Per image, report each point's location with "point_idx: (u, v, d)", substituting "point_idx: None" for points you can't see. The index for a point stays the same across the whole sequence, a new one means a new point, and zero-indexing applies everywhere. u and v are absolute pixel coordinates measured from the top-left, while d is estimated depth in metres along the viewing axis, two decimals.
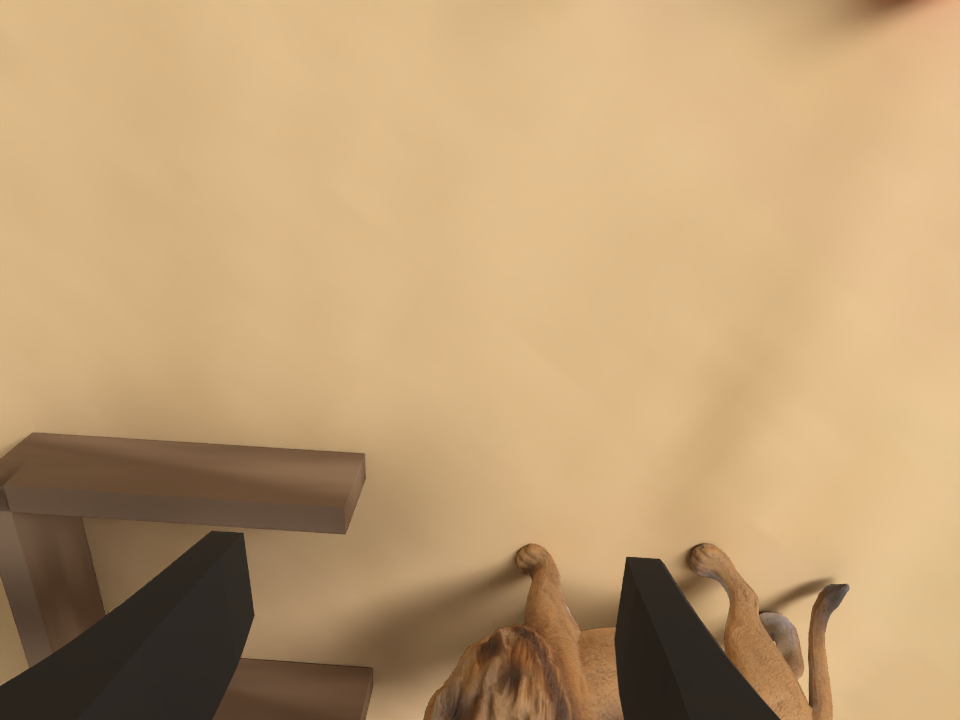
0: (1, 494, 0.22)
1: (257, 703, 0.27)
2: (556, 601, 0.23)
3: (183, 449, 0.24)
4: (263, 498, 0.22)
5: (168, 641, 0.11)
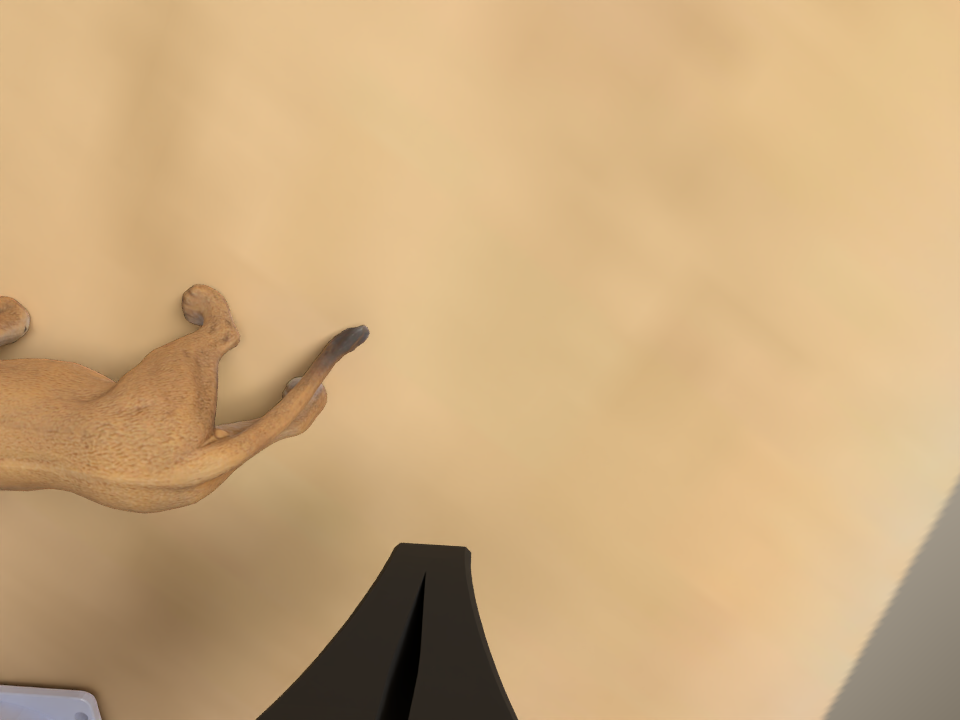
0: None
1: None
2: None
3: None
4: None
5: (401, 656, 0.11)
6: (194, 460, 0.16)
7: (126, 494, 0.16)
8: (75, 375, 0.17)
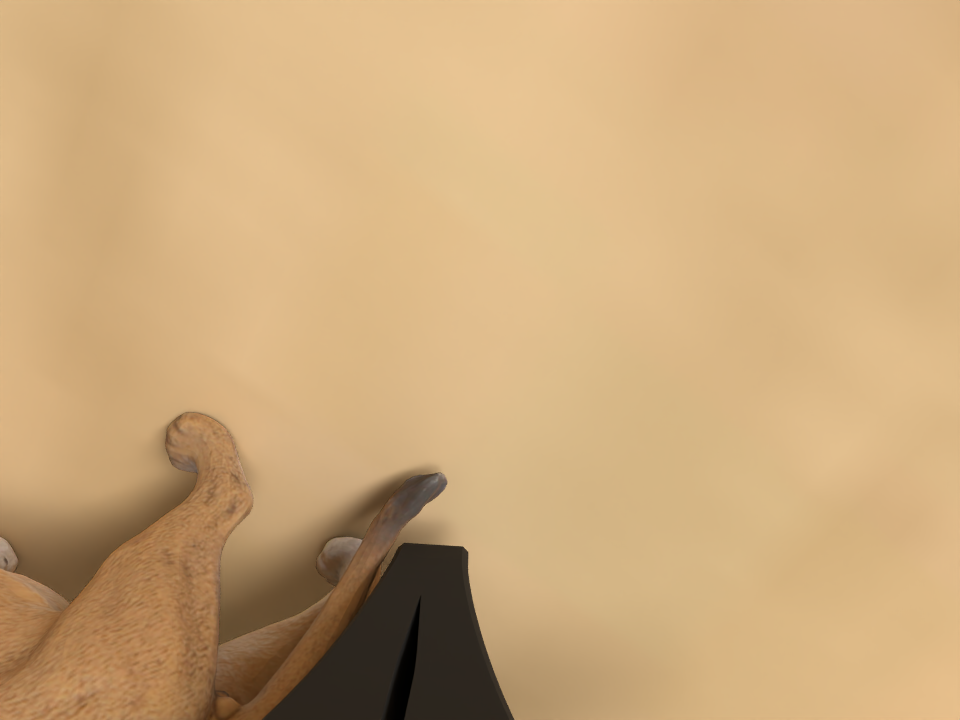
0: None
1: None
2: None
3: None
4: None
5: (405, 657, 0.11)
6: None
7: None
8: None
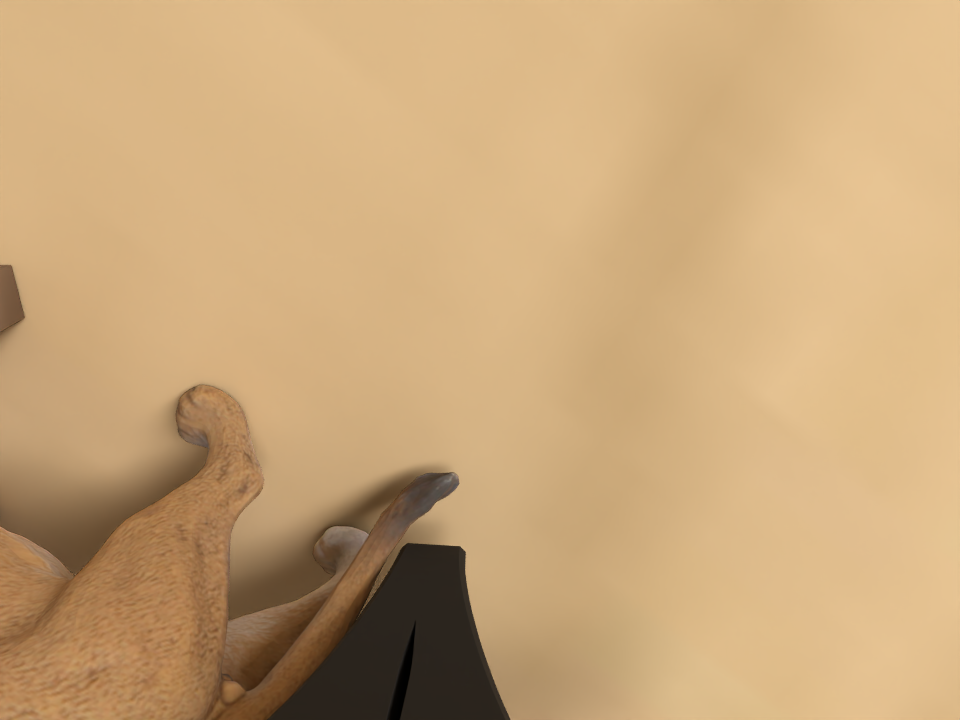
0: None
1: None
2: None
3: None
4: None
5: (410, 656, 0.11)
6: None
7: None
8: None
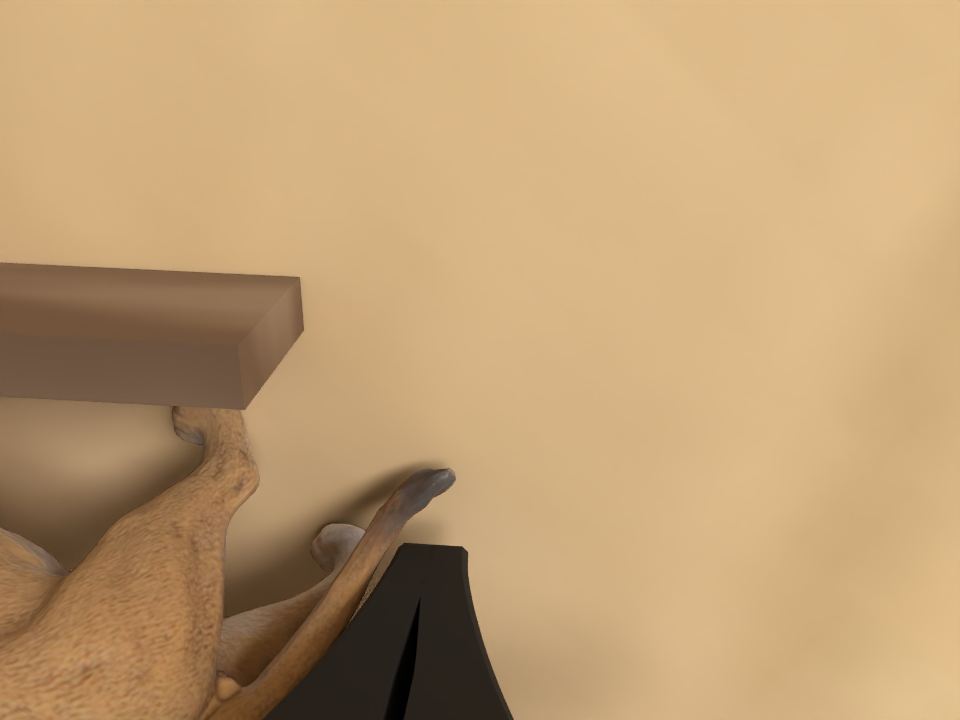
0: None
1: None
2: None
3: None
4: (65, 331, 0.10)
5: (405, 657, 0.11)
6: None
7: None
8: None
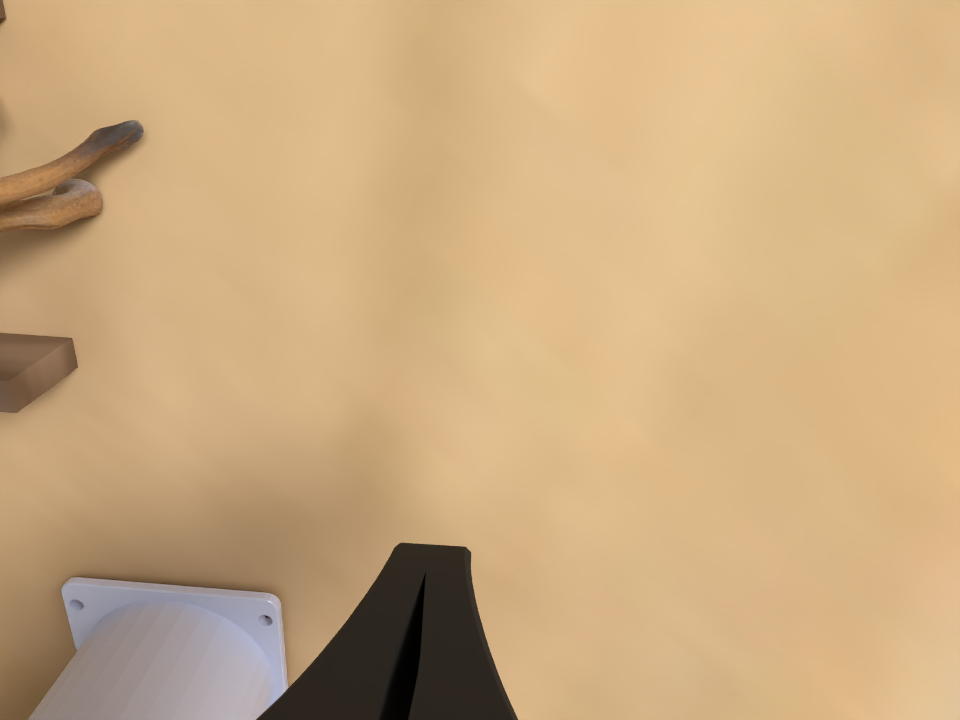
0: None
1: None
2: None
3: None
4: None
5: (401, 657, 0.11)
6: None
7: None
8: None
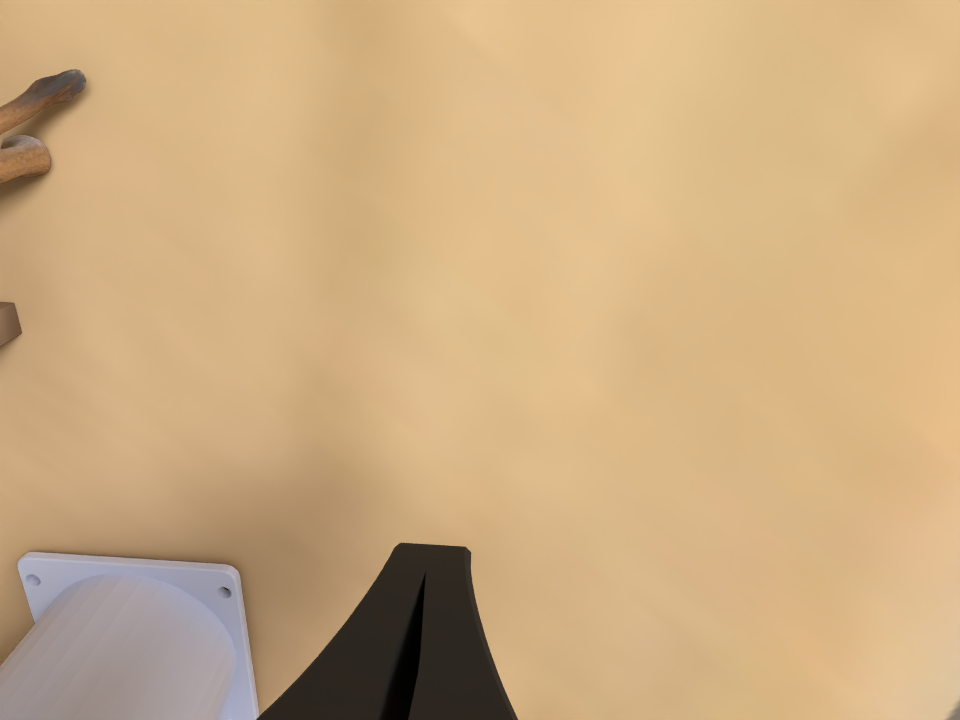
0: None
1: None
2: None
3: None
4: None
5: (401, 656, 0.11)
6: None
7: None
8: None
